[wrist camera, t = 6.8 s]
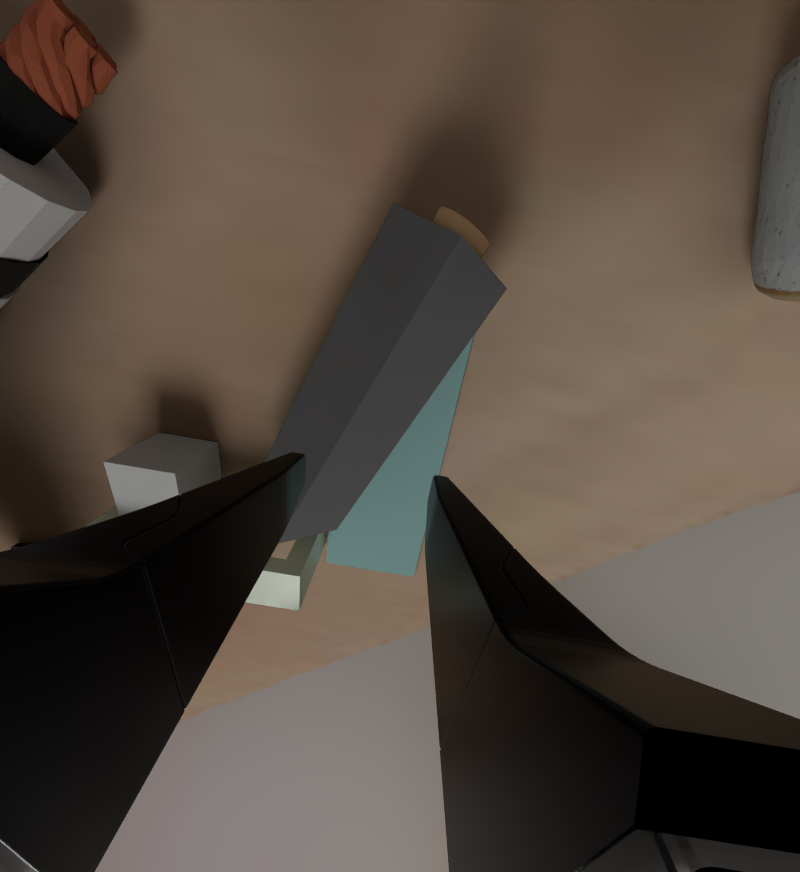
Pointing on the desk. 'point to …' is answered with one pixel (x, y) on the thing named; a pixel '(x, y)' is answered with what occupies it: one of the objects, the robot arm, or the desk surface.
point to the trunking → (161, 470)
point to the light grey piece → (277, 571)
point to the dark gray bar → (384, 358)
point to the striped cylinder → (42, 133)
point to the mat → (400, 490)
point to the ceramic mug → (780, 193)
